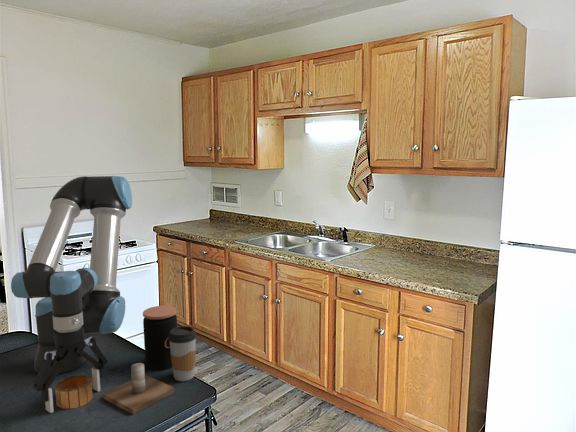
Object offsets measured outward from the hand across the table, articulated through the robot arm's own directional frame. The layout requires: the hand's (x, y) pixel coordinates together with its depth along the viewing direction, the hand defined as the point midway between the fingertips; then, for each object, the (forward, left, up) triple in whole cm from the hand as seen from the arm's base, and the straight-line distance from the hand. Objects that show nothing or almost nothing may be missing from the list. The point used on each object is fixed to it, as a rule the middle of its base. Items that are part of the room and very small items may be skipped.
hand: (74, 400), depth 130 cm
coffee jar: (+2, +29, 0) cm, 29 cm away
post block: (+13, +12, 0) cm, 18 cm away
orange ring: (0, 0, 0) cm, 0 cm away
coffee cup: (+15, +27, 0) cm, 31 cm away
